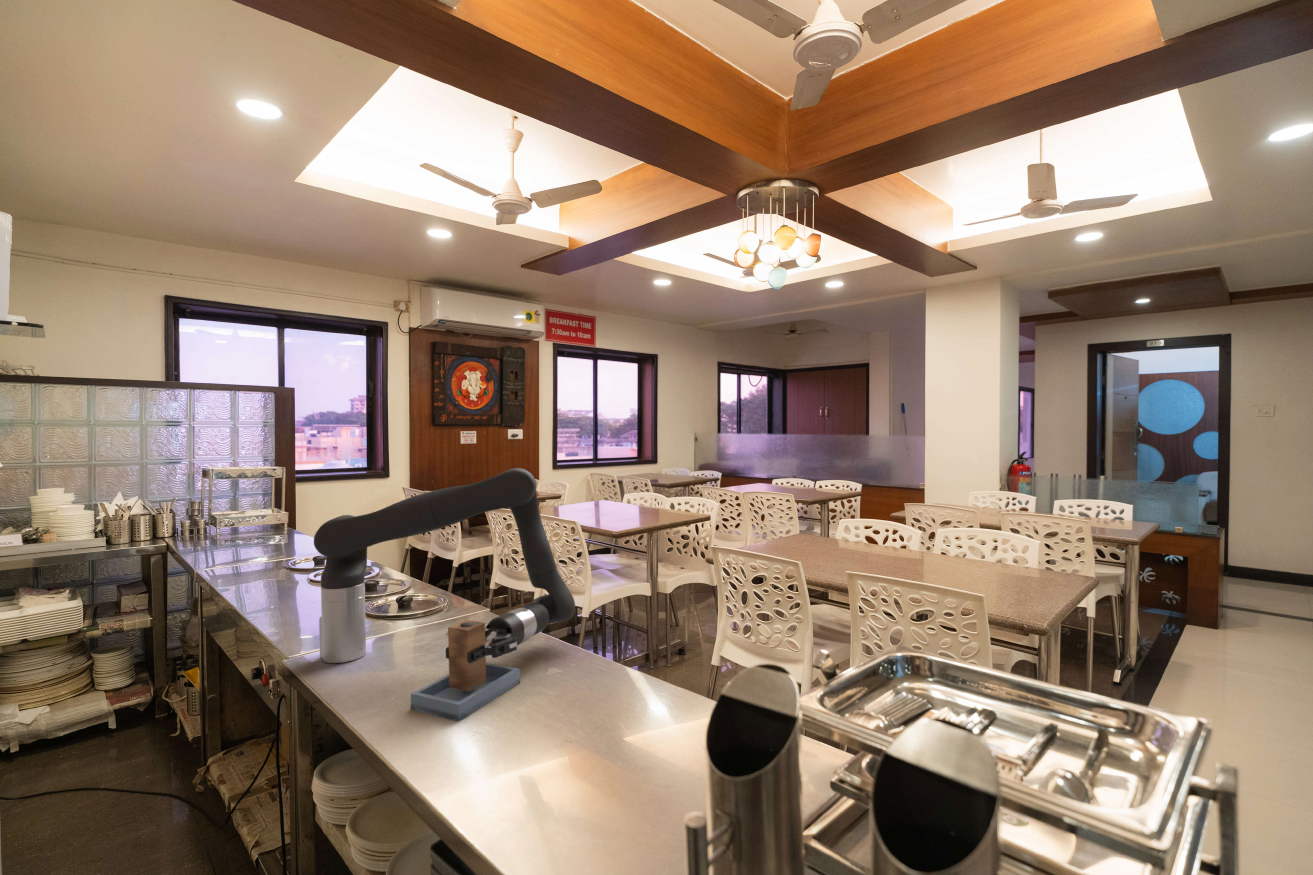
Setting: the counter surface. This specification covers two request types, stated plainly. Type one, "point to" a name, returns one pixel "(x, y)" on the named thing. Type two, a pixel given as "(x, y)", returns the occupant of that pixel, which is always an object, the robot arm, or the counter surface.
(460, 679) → the walnut block
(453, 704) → the slate tray
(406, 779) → the counter surface
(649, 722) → the counter surface
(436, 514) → the robot arm
